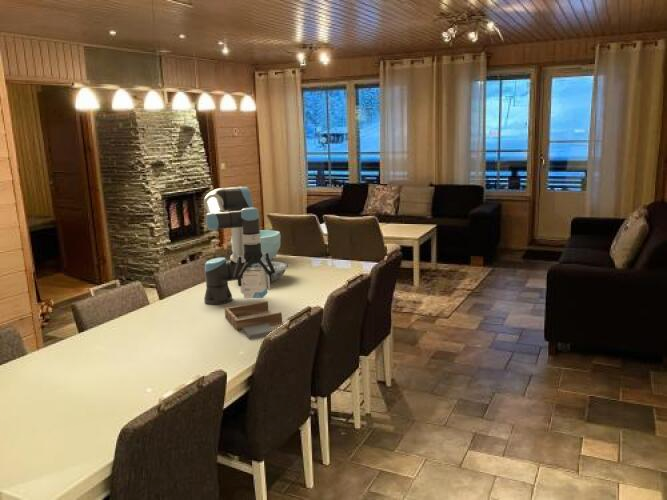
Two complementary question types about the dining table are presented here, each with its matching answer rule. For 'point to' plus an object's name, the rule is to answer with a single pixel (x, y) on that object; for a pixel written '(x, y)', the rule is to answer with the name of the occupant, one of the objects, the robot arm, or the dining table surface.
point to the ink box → (254, 283)
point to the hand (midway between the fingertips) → (255, 290)
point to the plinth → (257, 330)
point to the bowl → (269, 243)
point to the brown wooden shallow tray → (250, 309)
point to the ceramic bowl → (275, 268)
